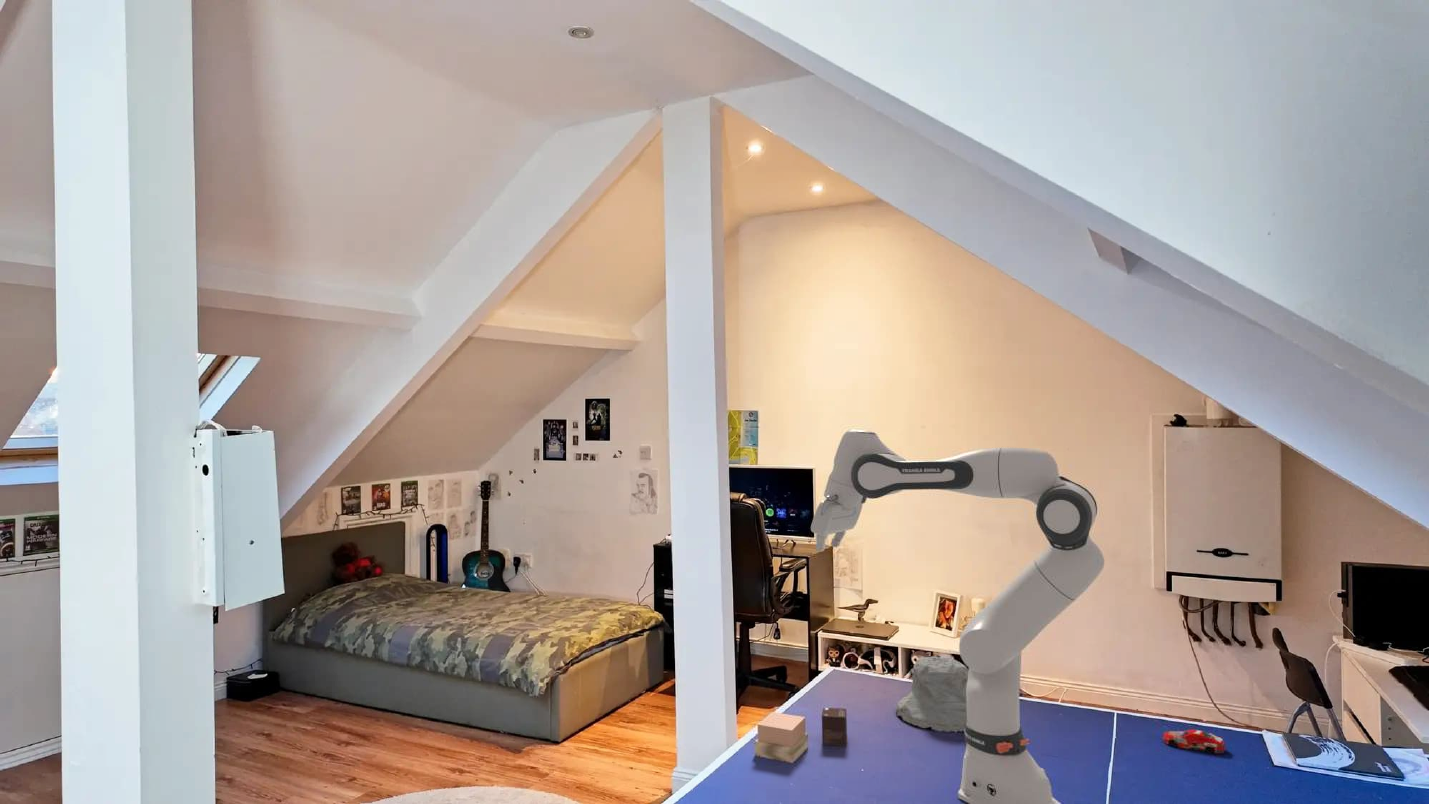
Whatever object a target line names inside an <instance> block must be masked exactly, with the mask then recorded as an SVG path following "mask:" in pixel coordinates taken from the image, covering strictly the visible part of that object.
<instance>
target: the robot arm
mask: <svg viewBox="0 0 1429 804" xmlns="http://www.w3.org/2000/svg"><path fill="white" fill-rule="evenodd" d="M832 467H833V468H832V470H831V472H830V474H829V475H828V480H827V483H826V485H825V490H824V493H823V497H824V498H825V500H822V501H821V502H820V503H818V506H817V508H816V511H815V514H814V516H813V518H812V522H811V525H810V531H811V532H812V533H814V534H816V536H815V537H816V544H815V547H814V548H815V551H817V552H819V553H821V552H824V551H825V548H826V544H825V543H826V539H827V538H828V536H829V535H833V534H834V536H833V538H832V539H831V542H830V546H832V547H834V548H837V547H840V546H841V542H842V540H843V539H844V537H845V535H846V532H847V531H849V530H853V529H854V528H855V527H856V525H857V523H858V520H859V518H860V515H861V512H862V509H863V505H864V504H866V502H867V499H879V498H883V497H885V496H890V495H893V494H897V493H900V492H902V491H905V490H906V491H907V490H908V491H909V490H911V491H912V490H913V491H914V490H921V491H922V490H941V491H950V492H953V493H959V494H964V495H971V496H976V497H981V498H987V499H988V498H990V499H1023V500H1026V501H1030V502H1031V503H1033V504H1035V505H1036V511H1035V517H1036V521H1037V524H1038V526H1039V528H1040V530H1041V532H1042V533H1043V534H1044V536H1045V538H1046V539H1047V541H1048V543H1049V546H1048V547H1047V549H1045V550H1044V552H1043V553H1042V554H1040V555H1039V556H1038V557H1036V559H1035V560H1034V561H1032V563H1030V565H1028V566H1027V567H1026V568H1025V569H1024V570H1023V571H1022V572H1021V573H1020V574H1019V575H1018V576H1017V577H1016V578H1014V580H1012V581H1011V582H1010V583H1009V584H1008V585H1007V586H1005V588H1004V589H1003V590H1002V591H1001V592H1000V593H999V594H998V595H997V596H996V597H995V598H994V599H993V600H992V601H991V602H990V603H989V604H987V606H986V607H984V608H982V609H980V610H979V611H978V612H977V613H975V615H974V616H973V617H972V619H971V620H970V621H969V622H968V623H967V624H966V626H965V627H964V628H963V629H962V632H961V634H960V636H959V643H958V650H959V656H960V658H961V660H962V661H963V663H964V665H965V666H966V667H968V671H969V672H968V680H967V686H966V703H967V721H966V723H965V729H964V731H963V732H964V741H965V743H966V746H965V752H964V754H963V755H964V756H963V760H962V771H961V772H962V773H961V783H960V788H959V790H958V792H957V798H958V799H960V800H961V801H963V802H965V803H967V804H1061V802H1060V801H1058V800H1057V799H1056V798H1055V797H1053V793H1052V786H1051V783H1050V779H1049V778H1048V777H1047V772H1046V771H1045V769H1044V768H1043V767H1040V766H1039V765H1038V763H1037V762H1036V761H1035V759H1034V758H1033V756H1032V755H1031V754H1030V752H1029V751H1028V750H1027V748H1028V747H1027V745H1029V744H1030V742H1028V741H1030V738H1025V735H1024V732H1023V730H1022V727H1021V726H1020V724H1021V723H1020V683H1021V670H1022V669H1021V668H1022V651H1023V650H1024V649H1026V647H1027V646H1028V645H1030V643H1031V642H1032V641H1034V640H1035V638H1037V637H1038V635H1039V634H1041V632H1043V630H1044V629H1045V628H1047V626H1049V625H1050V624H1051V622H1053V621H1054V620H1055V619H1056V618H1057V617H1059V616H1060V615H1061V614H1062V613H1063V612H1064V611H1065V610H1066V609H1068V608H1069V606H1071V605H1072V604H1073V603H1074V602H1075V601H1077V600H1078V598H1080V596H1082V595H1083V594H1084V593H1085V592H1086V591H1087V590H1088V588H1089V587H1090V586H1091V585H1092V584H1093V582H1094V581H1095V580H1096V579H1097V578H1098V577H1099V575H1100V573H1101V572H1102V570H1103V569H1104V566H1105V556H1104V555H1103V552H1102V551H1101V549H1100V548H1099V546H1098V545H1097V544H1096V543H1095V542H1094V541H1093V540H1092V539H1091V536H1090V532H1091V529H1092V527H1093V525H1094V523H1095V521H1096V517H1097V514H1098V503H1097V501H1096V499H1095V497H1094V496H1093V494H1092V493H1091V492H1090V491H1089V490H1088V489H1087V488H1086V487H1084V486H1082V485H1080V484H1079V483H1076V482H1074V481H1072V480H1070V479H1068V478H1067V477H1065V476H1060V474H1059V468H1058V464H1057V461H1056V460H1055V458H1054V457H1053V456H1052V455H1051V454H1050V453H1049V452H1047V451H1046V450H1045V451H1044V450H1039V449H1032V448H1023V447H992V448H990V447H989V448H983V449H976V450H971V451H968V452H964V453H962V454H958V455H955V456H951V457H947V458H942V459H937V460H906V459H905V458H904V457H902V456H900V455H899V454H897V453H896V452H894V451H893V450H891V449H890V448H889V447H888V446H887V445H886V444H885V443H884V442H883V441H882V440H881V439H880V437H879V436H878V434H877V433H876V432H873V431H870V430H862V429H850V430H847V431H845V432H844V433H843V435H842V437H841V439H840V441H839V444H838V446H837V449H836V453H835V455H834V458H833V466H832Z"/></svg>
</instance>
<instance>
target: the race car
mask: <svg viewBox="0 0 1429 804" xmlns="http://www.w3.org/2000/svg"><path fill="white" fill-rule="evenodd" d="M1162 735H1163V736H1162V741H1163V742H1164V744H1166V745H1168V746H1170V747H1174V748H1177V747H1178V748H1182V749H1188V750H1192V751H1193V750H1194V751H1198V752H1206V753H1207V754H1211V755H1214V753H1215V754H1224V753H1225V751H1226V745H1225V742H1224V739H1223V738H1222V737H1219V736H1217V735H1215V734H1213V733H1210V732H1207V731H1203V730H1199V729H1188V730H1184V731H1183V730H1181V731H1177V730H1171V731H1166V732H1164V733H1163V734H1162Z"/></svg>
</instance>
